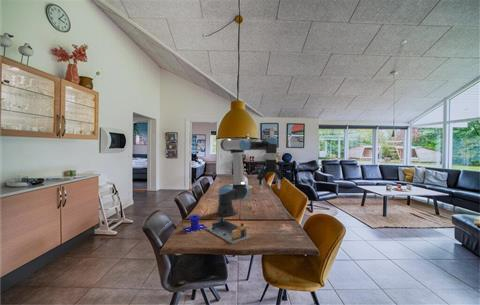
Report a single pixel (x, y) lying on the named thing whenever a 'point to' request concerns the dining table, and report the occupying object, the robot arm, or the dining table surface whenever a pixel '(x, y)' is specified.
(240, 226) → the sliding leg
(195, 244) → the dining table surface
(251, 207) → the dining table surface
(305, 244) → the dining table surface
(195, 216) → the mount
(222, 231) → the plate
